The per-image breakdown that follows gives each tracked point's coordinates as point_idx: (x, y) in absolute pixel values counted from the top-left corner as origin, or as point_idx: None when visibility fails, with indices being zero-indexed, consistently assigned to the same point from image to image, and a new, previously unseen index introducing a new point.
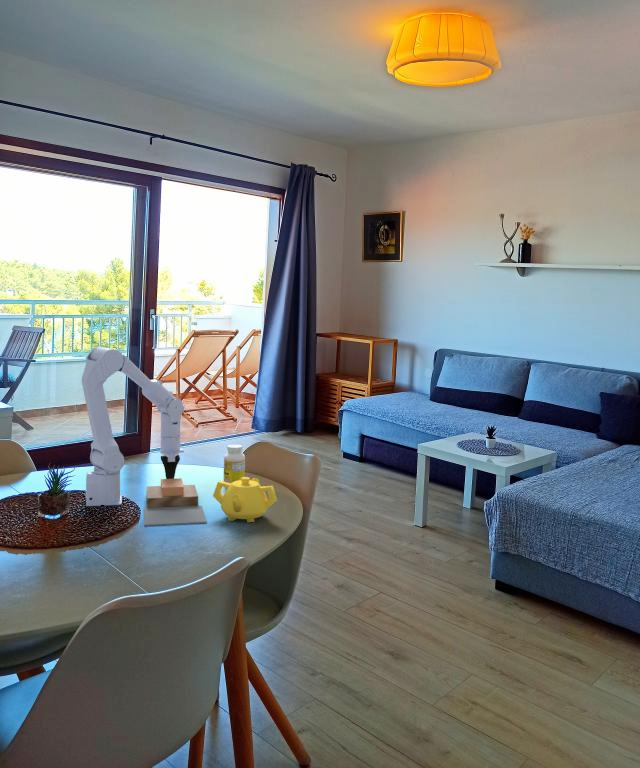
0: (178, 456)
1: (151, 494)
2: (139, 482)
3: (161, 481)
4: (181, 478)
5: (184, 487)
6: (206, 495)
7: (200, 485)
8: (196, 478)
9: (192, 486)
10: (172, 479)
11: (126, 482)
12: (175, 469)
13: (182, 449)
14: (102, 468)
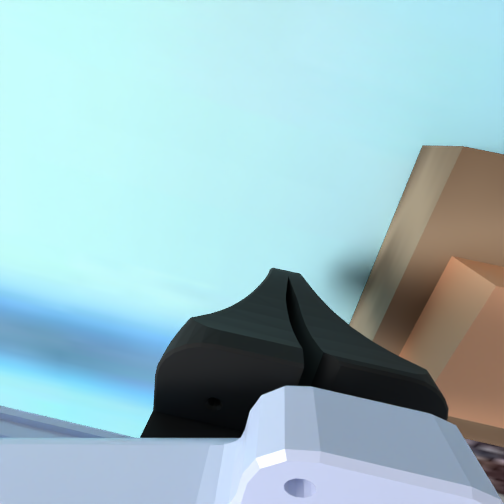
0: (297, 376)
1: (501, 430)
2: (109, 338)
3: (483, 422)
4: (497, 287)
5: (487, 243)
6: (492, 63)
7: (227, 36)
8: (44, 16)
9: (500, 178)
10: (478, 352)
11: (105, 377)
12: (335, 314)
13: (353, 497)
14: None
